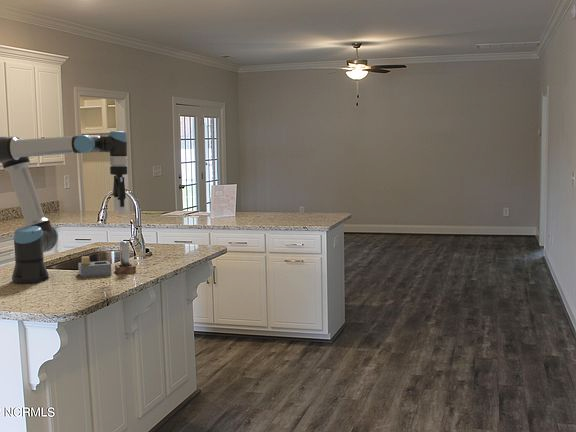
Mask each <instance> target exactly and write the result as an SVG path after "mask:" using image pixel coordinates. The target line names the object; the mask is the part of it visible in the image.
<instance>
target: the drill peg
mask: <svg viewBox="0 0 576 432" xmlns="http://www.w3.org/2000/svg"><path fill="white" fill-rule="evenodd" d="M119 254H120V255H119V256H120V258H119V259H120V264H121V267H127V266H130V264H131V261H130V241H128V240H124V241H119Z"/></svg>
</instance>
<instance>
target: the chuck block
mask: <svg viewBox="0 0 576 432" xmlns="http://www.w3.org/2000/svg"><path fill="white" fill-rule="evenodd" d="M77 265H78V275H79V276H80V278H81V279H84V278H97V277H108V276H109V277H110V276H112V274H113V273H112V263H110V262H109V260H102V261H101V260H100V261H98V260H97V261H90V265H82V262H78V264H77Z"/></svg>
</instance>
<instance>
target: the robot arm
mask: <svg viewBox="0 0 576 432" xmlns="http://www.w3.org/2000/svg"><path fill="white" fill-rule="evenodd" d="M127 138H128V137H127V133H126V131H118V130H115V131H112V130H110V131H109V134H108V135H98V134H97V135H96V134H95V135H92V134H81V135H70V136H69V135H68V136H67V135H66V136H56V137H42V138H26V139H23V138H21V137H17V136H0V164H2V165H1V166H2V167H3V170H4V171H5V172H8V174H9V178H10V180H11V183H12V186H13V190H14V193H15V195H16V199H17V201H18V204H19V207H20V210H21V212H22V215H23V217H22V218H23V219H24V222H25V223H24V225H23V226H21V227H18V228H16V229H15V230H14V232H13V243H14V248H13V249H14V261H15V262H14V263H15V265H14V268H13V272H12V274H11V282H12V283H13V284H20V283H26V284H36V283H35V282H37V283H42V282H41V281H43V282H46V281H48V280H49V278H50V277H49V276H50V275H49V272H48V269H47V267H46V264H45V261H44V260H45V259H44V253H45V252H48V251H50V250H52V249H53V248H54V247H55V246H56V245H57V243H58V242H59V240H58V239H59V233H58V231H57V229H56V228H55V227H54V226H52V225H51V221H50V219H49V218H47V217H46V216H45V214H44V211H43V208H42V205H41V203H40V199H39V197H38V194H37V191H36V188H35V184H34V182H33V177H32V175H31V173H30V170H29V166H30V164H31V162H30V161H31V160H30V159H29V157H30V158H31V157H42V156H59V155H70V154H71V155H72V154H88V153H89V154H90V153H109V165H110V167H109V171H110V172H109V173H110V175H111V176H112V175H113V188H112V190H113V191H112V195H113V212H118V215H126V198H127V195H126V186H125V177H124V175H128V166H127V165H128V161H129V157H128V139H127ZM45 280H46V281H45Z"/></svg>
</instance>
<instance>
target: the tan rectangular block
mask: <svg viewBox="0 0 576 432" xmlns="http://www.w3.org/2000/svg"><path fill="white" fill-rule="evenodd" d="M90 262H91V260H90V256H88V255H87V256H85V255H84V256H81V263H82V265H90Z"/></svg>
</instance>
